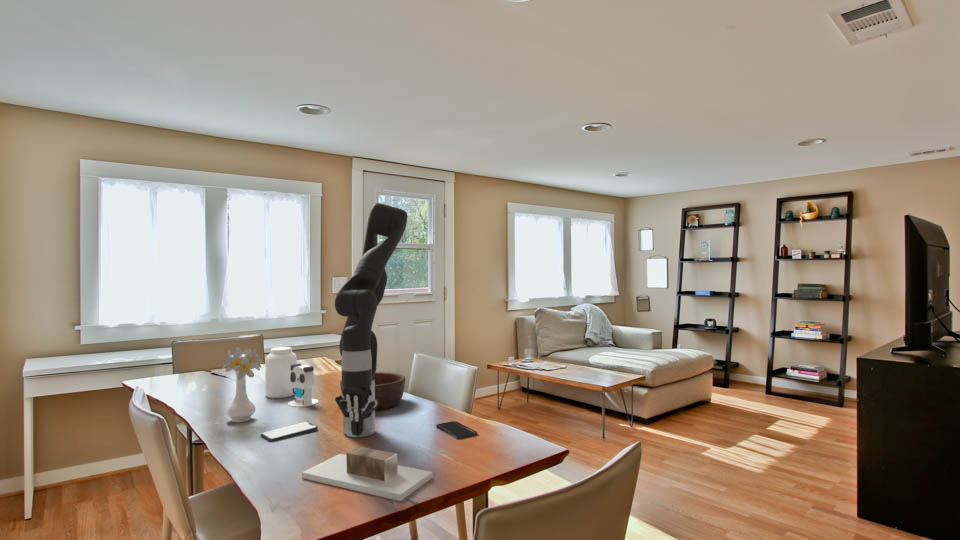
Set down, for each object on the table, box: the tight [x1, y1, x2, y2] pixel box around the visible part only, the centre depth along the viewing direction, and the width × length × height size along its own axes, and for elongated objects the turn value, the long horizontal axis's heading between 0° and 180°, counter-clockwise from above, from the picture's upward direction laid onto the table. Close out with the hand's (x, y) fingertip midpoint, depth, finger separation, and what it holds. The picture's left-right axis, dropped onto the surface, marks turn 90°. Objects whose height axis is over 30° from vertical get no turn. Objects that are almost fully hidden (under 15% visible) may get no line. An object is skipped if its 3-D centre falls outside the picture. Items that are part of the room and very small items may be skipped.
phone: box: [435, 420, 478, 440], centre depth 163 cm, size 8×1×15 cm
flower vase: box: [220, 347, 263, 423], centre depth 176 cm, size 13×18×25 cm
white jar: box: [264, 346, 298, 399], centre depth 212 cm, size 12×12×20 cm
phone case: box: [260, 421, 319, 443], centre depth 162 cm, size 9×2×16 cm
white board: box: [301, 453, 433, 502], centre depth 127 cm, size 30×14×2 cm, turn 64°
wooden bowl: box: [339, 371, 406, 411], centre depth 196 cm, size 25×25×10 cm
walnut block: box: [346, 446, 398, 481], centre depth 126 cm, size 5×5×12 cm
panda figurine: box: [287, 363, 319, 408], centre depth 199 cm, size 12×11×15 cm
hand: (357, 434), depth 128 cm, fingers closed
